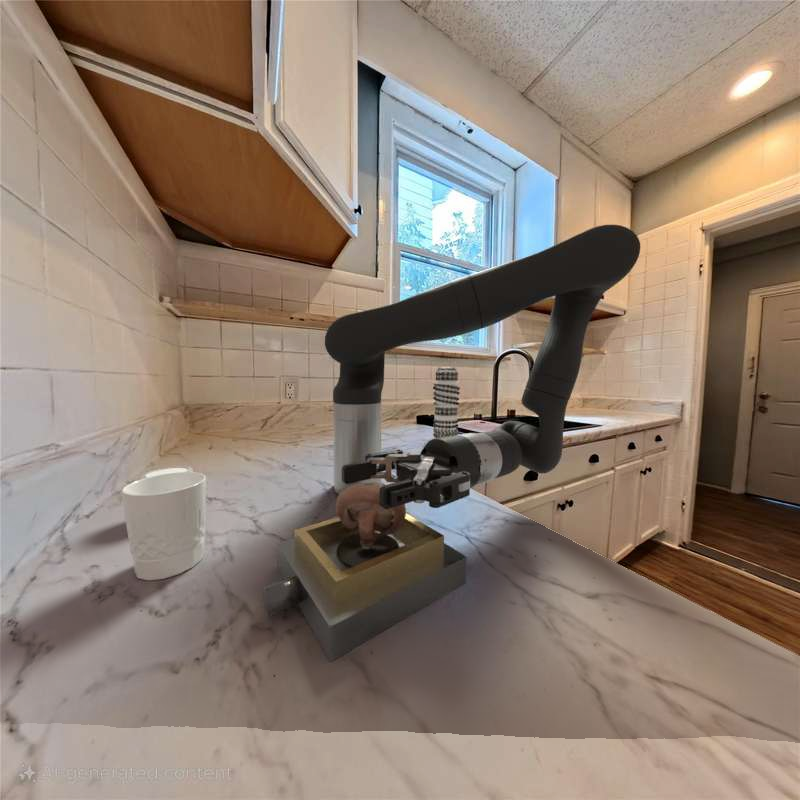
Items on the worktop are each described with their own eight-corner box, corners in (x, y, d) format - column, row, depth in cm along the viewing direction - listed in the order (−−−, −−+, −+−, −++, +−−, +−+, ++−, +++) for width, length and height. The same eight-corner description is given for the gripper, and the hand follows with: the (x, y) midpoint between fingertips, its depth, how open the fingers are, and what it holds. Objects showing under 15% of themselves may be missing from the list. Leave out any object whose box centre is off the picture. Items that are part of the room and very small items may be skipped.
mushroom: (325, 552, 34) (324, 481, 34) (358, 528, 40) (358, 466, 39) (383, 574, 31) (384, 495, 30) (411, 544, 36) (412, 477, 35)
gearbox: (245, 568, 37) (244, 527, 36) (381, 522, 48) (381, 491, 48) (292, 684, 23) (290, 621, 23) (465, 582, 34) (467, 539, 34)
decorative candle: (426, 439, 108) (427, 366, 105) (441, 435, 115) (442, 367, 112) (449, 443, 102) (451, 366, 100) (463, 439, 109) (465, 367, 106)
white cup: (164, 544, 42) (160, 471, 41) (222, 545, 41) (219, 472, 41) (108, 583, 34) (101, 494, 33) (179, 586, 34) (173, 496, 33)
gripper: (428, 427, 49) (332, 440, 40) (506, 444, 38) (399, 468, 28) (427, 474, 50) (332, 497, 40) (504, 504, 38) (398, 548, 29)
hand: (360, 485), depth 34 cm, fingers open, 8 cm apart
